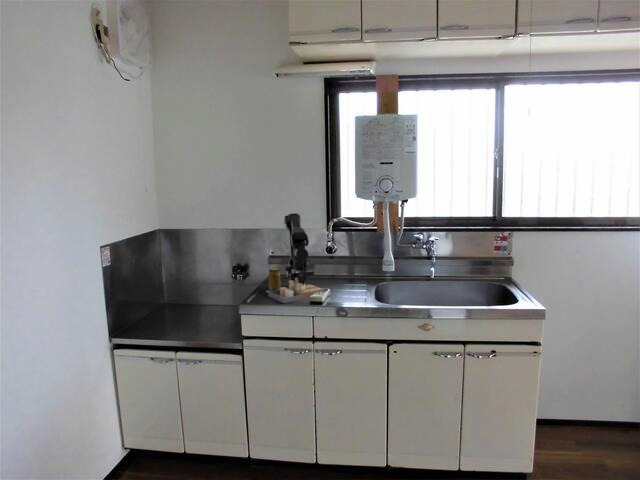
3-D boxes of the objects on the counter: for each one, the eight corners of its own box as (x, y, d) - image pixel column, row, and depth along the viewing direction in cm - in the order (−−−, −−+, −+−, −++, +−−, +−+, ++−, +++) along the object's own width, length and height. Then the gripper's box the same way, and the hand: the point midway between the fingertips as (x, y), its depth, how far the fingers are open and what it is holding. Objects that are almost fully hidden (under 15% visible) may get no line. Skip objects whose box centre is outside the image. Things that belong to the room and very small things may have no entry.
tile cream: (289, 297, 223) (285, 297, 222) (289, 289, 222) (284, 289, 221) (293, 298, 220) (289, 299, 218) (293, 290, 219) (288, 291, 218)
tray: (268, 296, 227) (268, 291, 226) (284, 293, 231) (284, 288, 231) (284, 303, 213) (283, 298, 213) (300, 300, 218) (300, 295, 218)
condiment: (276, 289, 241) (276, 267, 239) (286, 292, 234) (285, 269, 233) (265, 291, 236) (264, 269, 235) (274, 294, 230) (273, 271, 228)
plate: (285, 294, 231) (285, 288, 230) (309, 289, 238) (309, 284, 238) (299, 300, 219) (299, 294, 218) (324, 295, 227) (324, 289, 226)
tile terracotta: (284, 294, 227) (279, 295, 226) (284, 286, 227) (279, 287, 225) (288, 296, 224) (283, 297, 223) (287, 288, 224) (283, 289, 222)
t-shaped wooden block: (289, 288, 230) (288, 276, 229) (297, 286, 233) (296, 274, 232) (301, 293, 220) (300, 281, 219) (310, 290, 223) (309, 278, 222)
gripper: (323, 257, 221) (323, 288, 223) (303, 252, 236) (304, 281, 239) (303, 260, 215) (304, 292, 217) (284, 254, 230) (285, 284, 233)
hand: (299, 287), depth 227 cm, fingers closed on t-shaped wooden block, 3 cm apart
